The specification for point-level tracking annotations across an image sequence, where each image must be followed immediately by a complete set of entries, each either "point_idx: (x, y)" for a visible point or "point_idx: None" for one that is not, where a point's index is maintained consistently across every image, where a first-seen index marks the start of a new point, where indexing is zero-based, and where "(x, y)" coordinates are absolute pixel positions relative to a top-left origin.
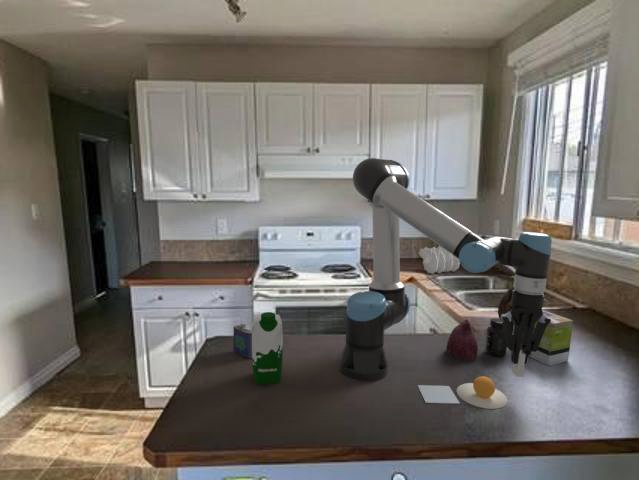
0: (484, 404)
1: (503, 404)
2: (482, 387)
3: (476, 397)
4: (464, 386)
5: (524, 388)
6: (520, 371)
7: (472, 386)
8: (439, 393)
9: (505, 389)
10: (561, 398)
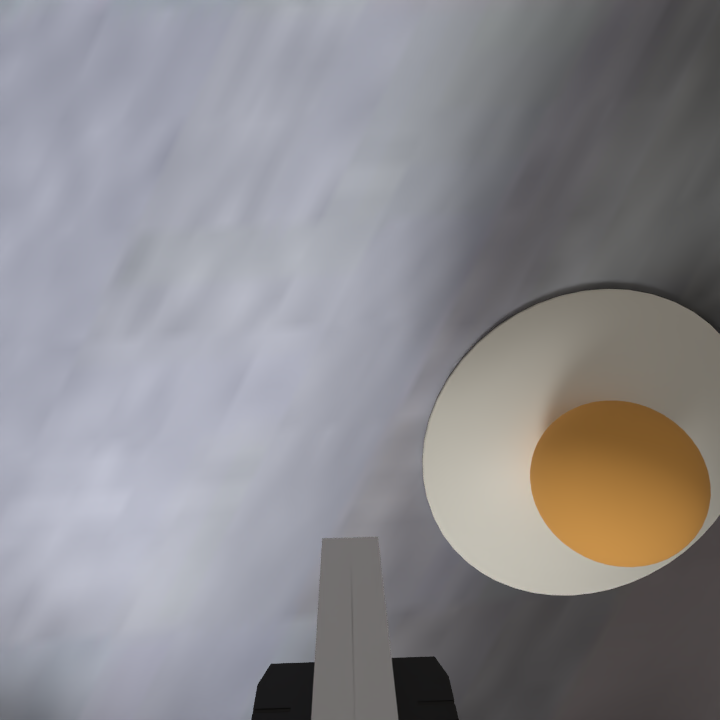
0: (632, 335)
1: (495, 344)
2: (680, 434)
3: None
4: None
5: (230, 568)
6: (353, 574)
7: None
8: None
9: None
10: (12, 464)
